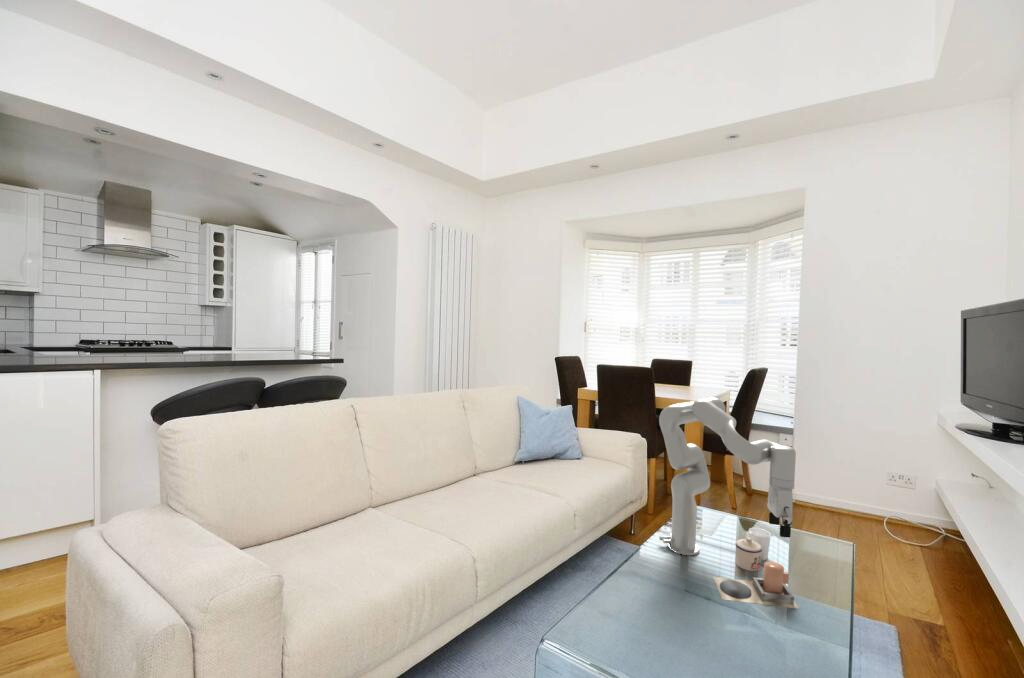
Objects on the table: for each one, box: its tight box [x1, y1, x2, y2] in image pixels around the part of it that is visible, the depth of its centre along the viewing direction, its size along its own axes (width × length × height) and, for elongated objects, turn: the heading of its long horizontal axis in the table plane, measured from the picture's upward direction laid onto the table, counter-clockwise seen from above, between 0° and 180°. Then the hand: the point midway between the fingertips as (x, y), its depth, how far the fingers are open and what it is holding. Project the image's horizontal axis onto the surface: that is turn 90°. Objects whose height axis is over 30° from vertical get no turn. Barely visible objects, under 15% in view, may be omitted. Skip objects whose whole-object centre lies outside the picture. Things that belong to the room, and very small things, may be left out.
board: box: [712, 576, 800, 610], centre depth 169 cm, size 24×14×4 cm, turn 80°
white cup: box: [748, 527, 772, 561], centre depth 195 cm, size 8×8×10 cm
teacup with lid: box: [734, 536, 762, 572], centre depth 187 cm, size 12×9×12 cm
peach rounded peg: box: [763, 561, 790, 594], centre depth 167 cm, size 8×6×10 cm
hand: (779, 530), depth 168 cm, fingers open, 9 cm apart
